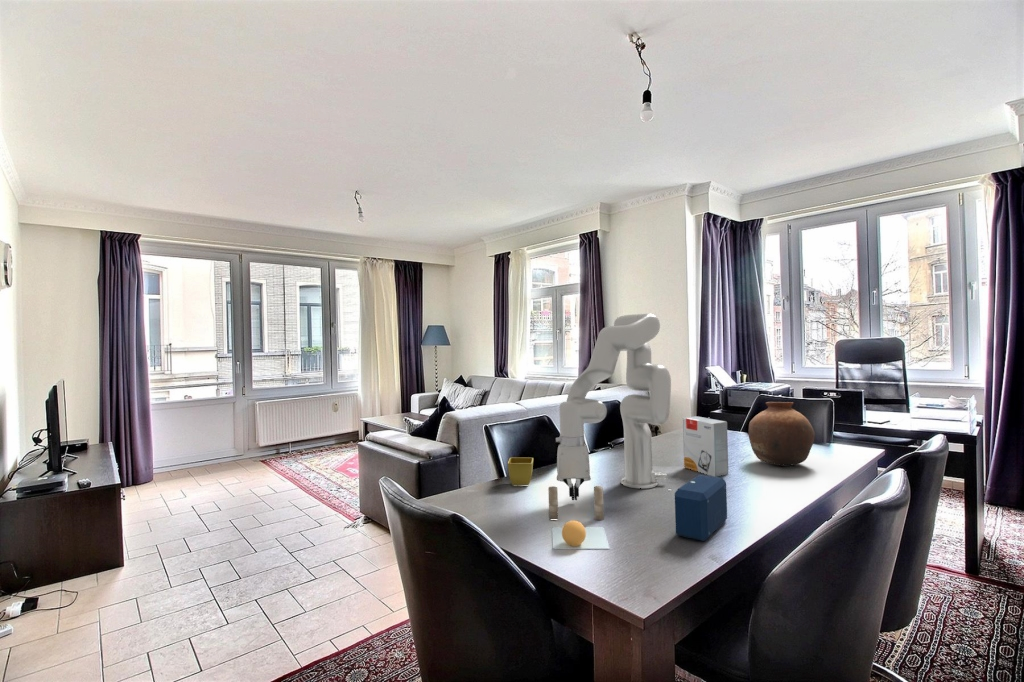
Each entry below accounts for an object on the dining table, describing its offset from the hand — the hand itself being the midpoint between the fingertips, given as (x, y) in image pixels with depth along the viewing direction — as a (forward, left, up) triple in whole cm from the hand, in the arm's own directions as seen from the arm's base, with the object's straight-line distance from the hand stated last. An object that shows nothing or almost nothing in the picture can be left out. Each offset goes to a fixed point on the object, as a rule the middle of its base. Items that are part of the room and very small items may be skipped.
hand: (574, 498), depth 156 cm
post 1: (+7, +13, -2) cm, 15 cm away
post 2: (-6, +13, -2) cm, 15 cm away
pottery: (-84, -46, -2) cm, 96 cm away
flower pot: (+18, -21, -2) cm, 28 cm away
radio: (-33, +21, -2) cm, 39 cm away
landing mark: (0, +27, -2) cm, 27 cm away
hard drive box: (-52, -37, -2) cm, 64 cm away
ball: (+2, +32, +1) cm, 32 cm away
